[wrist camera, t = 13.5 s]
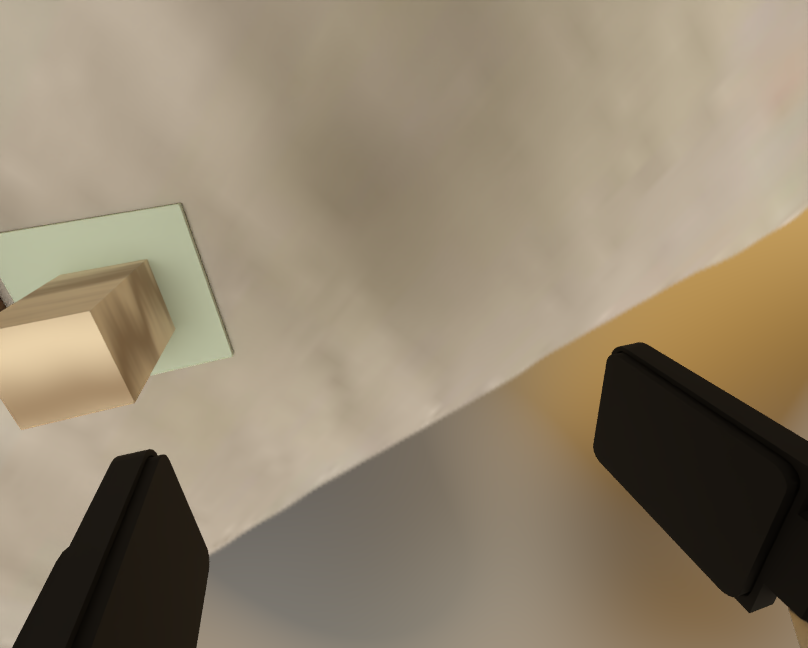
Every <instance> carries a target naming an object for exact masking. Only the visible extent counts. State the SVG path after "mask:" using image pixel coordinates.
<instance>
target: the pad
mask: <svg viewBox="0 0 808 648" xmlns="http://www.w3.org/2000/svg"><path fill="white" fill-rule="evenodd" d="M144 259H147V260H148V262H149V265H150V267H151V270H152V272H153V275H154V277H155V280H156V282H157V285H158V287H159V290H160V292H161V295H162V297H163V300H164V302H165V304H166V307H167V309H168V312H169V314H170V317H171V319H172V322H173V324H174V327H175V331H174V333H173V335H172V336H171V338H170V340H169V342H168V344H167V345H166V347H165V349H164V351H163V353H162V354H161V356H160V358H159V360H158V362H157V364H156V365H155V367H154V369H153V371H152V373H151V374H150V376H151V375H155V374H160V373H164V372H168V371H173V370H177V369H181V368H186V367H190V366H194V365H199V364H203V363H207V362H212V361H216V360H220V359H225V358H229V357H233V350H232V348H231V345H230V342H229V339H228V336H227V333H226V330H225V328H224V325H223V322H222V319H221V316H220V313H219V310H218V308H217V305H216V302H215V299H214V296H213V293H212V290H211V288H210V285H209V282H208V279H207V276H206V273H205V270H204V268H203V265H202V262H201V259H200V256H199V253H198V250H197V248H196V245H195V242H194V239H193V236H192V233H191V230H190V228H189V225H188V222H187V219H186V216H185V213H184V210H183V208H182V205H181V203H177V204H171V205H165V206H159V207H153V208H147V209H141V210H135V211H129V212H123V213H116V214H110V215H104V216H98V217H92V218H86V219H80V220H74V221H68V222H62V223H56V224H50V225H44V226H37V227H31V228H25V229H19V230H13V231H7V232H1V233H0V278H1V280H2V282H3V283H4V285H5V287H6V289H7V290H8V292H9V294H10V295H11V297H12V299H13V301H14V302H17V301H19V300H20V299H22V298H23V297H25V296H27V295H28V294H30V293H31V292H33V291H35V290H36V289H38V288H39V287H41V286H43V285H44V284H46V283H48V282H49V281H51V280H52V279H54V278H56V277H57V276H59V275H62V274H67V273H73V272H78V271H84V270H89V269H95V268H100V267H106V266H111V265H117V264H122V263H127V262H133V261H138V260H144Z"/></svg>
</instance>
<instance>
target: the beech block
mask: <svg viewBox="0 0 808 648" xmlns="http://www.w3.org/2000/svg"><path fill="white" fill-rule="evenodd" d="M174 331H175V327H174V324H173V322H172V319H171V317H170V314H169V312H168V309H167V307H166V304H165V302H164V300H163V297H162V295H161V292H160V290H159V287H158V285H157V282H156V280H155V277H154V275H153V272H152V270H151V267H150V265H149V262H148V260H147V259H144V260H138V261H133V262H127V263H122V264H117V265H111V266H106V267H100V268H95V269H89V270H84V271H78V272H73V273H67V274H62V275H59V276H57V277H56V278H54V279H52V280H51V281H49V282H48V283H46V284H44V285H43V286H41V287H39V288H38V289H36V290H35V291H33V292H31V293H30V294H28V295H27V296H25V297H23V298H22V299H20V300H19V301H17V302H15V303H14V304H12V305H11V306H9V307H7V308H6V309H4V310H3V311H1V312H0V398H1V400H2V401H3V403H4V405H5V406H6V408H7V409H8V411H9V412H10V414H11V415H12V417H13V418H14V420H15V421H16V423H17V424H18V426H19V427H20V429H21V430H24V429H28V428H32V427H36V426H40V425H45V424H49V423H53V422H57V421H61V420H66V419H70V418H74V417H78V416H82V415H86V414H91V413H95V412H99V411H103V410H107V409H112V408H116V407H120V406H124V405H128V404H133V403H135V402H136V400H137V398H138V396H139V394H140V393H141V391H142V389H143V387H144V385H145V383H146V382H147V380H148V378H149V376H150V374H151V373H152V371H153V369H154V367H155V365H156V364H157V362H158V360H159V358H160V356H161V354H162V353H163V351H164V349H165V347H166V345H167V344H168V342H169V340H170V338H171V336H172V335H173V333H174Z"/></svg>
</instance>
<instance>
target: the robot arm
mask: <svg viewBox="0 0 808 648" xmlns="http://www.w3.org/2000/svg"><path fill="white" fill-rule="evenodd" d="M593 448H594V453H595V455H596V457H597V459H598V460H599V462H600V463H601V464H602V465H603V466H604V467H605V468H606V469H607V470H608V471H609V472H610V473H611V474H612V475H613V477H614V478H616V480H617V481H618V482H619V483H620V484H621V485H622V486H623V487H624V488H625V489H626V490H627V491H628V492H629V493H630V495H632V497H633V498H634V499H635V500H636V501H637V502H638V503H639V504H640V505H641V506H642V507H643V508H644V509H645V510H646V512H648V514H649V515H650V516H651V517H652V518H653V519H654V520H655V521H656V522H657V523H658V524H659V525H660V526H661V527H662V528H663V530H664V531H665V532H666V533H667V534H668V535H669V536H670V537H671V538H672V539H673V540H674V541H675V542H676V543H677V544H678V545H679V546H680V547H681V549H682V550H683V551H684V552H685V553H686V554H687V555H688V556H689V557H690V558H691V559H692V560H693V561H694V562H695V563H696V565H697V566H698V567H699V568H700V569H701V570H702V571H703V572H704V573H705V574H706V575H707V576H708V577H709V578H710V579H711V580H712V581H713V582H714V583H715V585H716V586H717V587H718V588H719V589H720V590H721V591H723V592H724V593H725V594H727V595H728V596H731V597H734V598H735V599H736V600H737V601H738V602H739V603H740V604H741V605H742V606H743V607H744V608H745V609H746V610H747V611H748V612H749V613H751V612H754V611H756V610H759V609H761V608H764V607H767V606H769V605H772V604H773V603H774V601H775V599H776V597H778V598H779V599H781V601H782V602H784V603H785V604H786V605H787V606H788V610H789V613H790V616H791V620H792V623H793V626H794V630H795V633H796V636H797V640H798V643H799V646H800V648H808V441H807V440H805V439H803V438H802V437H800V436H798V435H796V434H795V433H793V432H792V431H790V430H788V429H787V428H785V427H783V426H782V425H780V424H778V423H777V422H775V421H773V420H772V419H770V418H768V417H767V416H765V415H763V414H762V413H760V412H759V411H757V410H755V409H754V408H752V407H750V406H749V405H747V404H745V403H744V402H742V401H740V400H739V399H737V398H735V397H734V396H732V395H730V394H729V393H727V392H725V391H724V390H722V389H720V388H719V387H717V386H715V385H714V384H712V383H710V382H708V381H707V380H705V379H704V378H702V377H700V376H699V375H697V374H695V373H693V372H692V371H690V370H689V369H687V368H685V367H684V366H682V365H680V364H679V363H677V362H675V361H674V360H672V359H671V358H669V357H667V356H665V355H664V354H662V353H660V352H659V351H657V350H655V349H654V348H652V347H651V346H649V345H647V344H645V343H639V342H638V343H634V344H629V345H625V346H620V347H617V348H615V349H614V350H613V352H612V355H610V356H609V357H608V359H607V362H606V369H605V375H604V381H603V387H602V394H601V400H600V406H599V412H598V419H597V425H596V431H595V438H594V444H593ZM208 572H209V554H208V550H207V547H206V545H205V542H204V540H203V538H202V535H201V533H200V530H199V528H198V526H197V523H196V521H195V519H194V516H193V514H192V512H191V509H190V507H189V505H188V502H187V500H186V498H185V495H184V493H183V491H182V488H181V486H180V484H179V481H178V479H177V477H176V474H175V472H174V470H173V467H172V465H171V463H170V460H169V458H168V457H167V456H166V455H159V456H158V455H157V453H156V452H155V451H154V450H151V449H149V450H144V451H140V452H135V453H130V454H126V455H121V456H117V457H116V458H114V459H113V461H112V462H111V464H110V466H109V468H108V470H107V472H106V474H105V476H104V478H103V480H102V482H101V484H100V486H99V488H98V490H97V492H96V494H95V496H94V498H93V500H92V502H91V504H90V506H89V508H88V510H87V512H86V514H85V516H84V518H83V520H82V522H81V524H80V526H79V528H78V530H77V532H76V534H75V536H74V538H73V540H72V542H71V544H70V546H69V547H68V548H67V549H66V550H64V551H63V552H62V554H61V555H60V557H59V558H58V560H57V561H56V563H55V565H54V567H53V569H52V571H51V573H50V575H49V577H48V579H47V581H46V583H45V585H44V587H43V589H42V591H41V592H40V594H39V596H38V598H37V600H36V602H35V604H34V606H33V608H32V610H31V612H30V614H29V616H28V618H27V620H26V622H25V624H24V626H23V628H22V630H21V631H20V633H19V635H18V637H17V639H16V641H15V643H14V645H13V647H12V648H196V646H197V640H198V634H199V627H200V622H201V615H202V609H203V603H204V596H205V591H206V585H207V578H208Z"/></svg>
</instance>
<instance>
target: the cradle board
mask: <svg viewBox="0 0 808 648" xmlns="http://www.w3.org/2000/svg"><path fill="white" fill-rule="evenodd" d="M4 309H6V307H5V305H4V304H3V302H2V300H1V298H0V312H1V311H3V310H4Z"/></svg>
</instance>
